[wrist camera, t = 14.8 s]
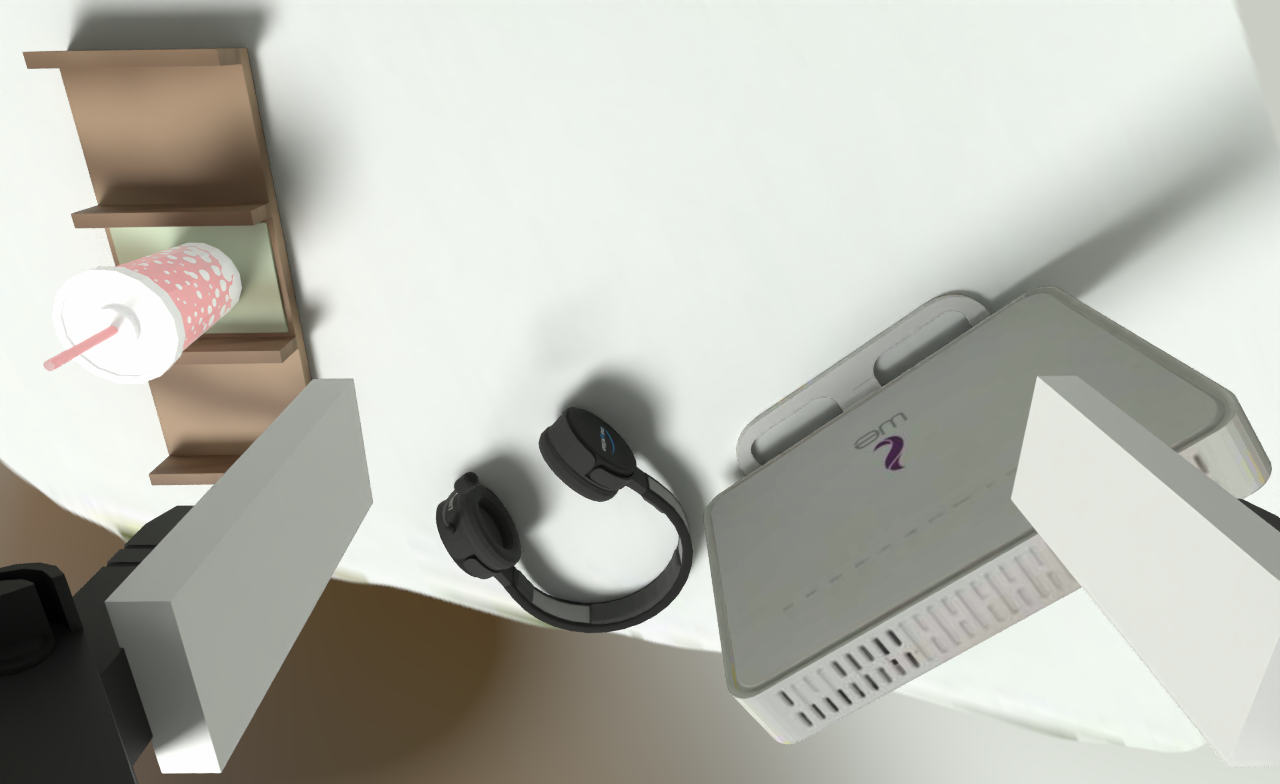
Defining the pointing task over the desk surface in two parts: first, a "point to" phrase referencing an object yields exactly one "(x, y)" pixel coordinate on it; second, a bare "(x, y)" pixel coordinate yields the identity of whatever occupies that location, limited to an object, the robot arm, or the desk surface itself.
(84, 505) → the desk surface
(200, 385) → the slot rack
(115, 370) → the beverage cup
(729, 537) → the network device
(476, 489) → the headset
